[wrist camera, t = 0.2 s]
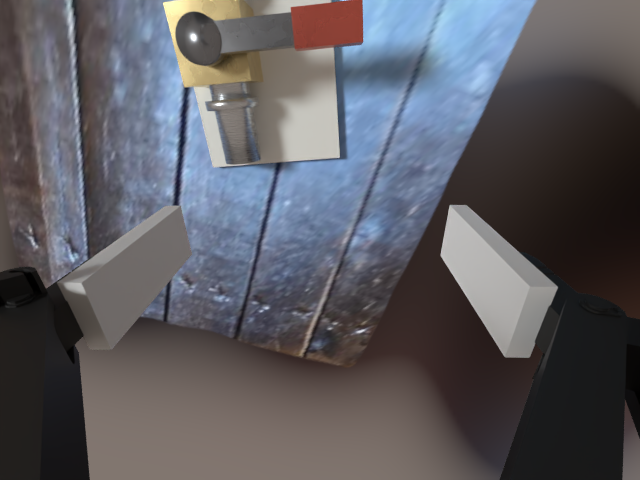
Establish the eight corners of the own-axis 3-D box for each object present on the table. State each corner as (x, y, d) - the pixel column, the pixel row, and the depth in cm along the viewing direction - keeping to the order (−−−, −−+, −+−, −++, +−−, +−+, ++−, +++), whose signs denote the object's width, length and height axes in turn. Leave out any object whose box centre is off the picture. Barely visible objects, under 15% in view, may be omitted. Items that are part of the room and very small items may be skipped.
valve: (170, -86, 30) (125, -134, 24) (239, -96, 30) (212, -148, 23) (224, 157, 41) (203, 171, 34) (275, 153, 40) (264, 166, 34)
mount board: (154, -97, 30) (148, -102, 29) (324, -121, 29) (324, -128, 28) (215, 165, 42) (213, 167, 41) (339, 156, 40) (339, 157, 40)
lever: (191, 68, 30) (182, 67, 28) (179, 18, 28) (169, 13, 26) (361, 51, 28) (363, 48, 27) (360, -3, 27) (362, -9, 25)
